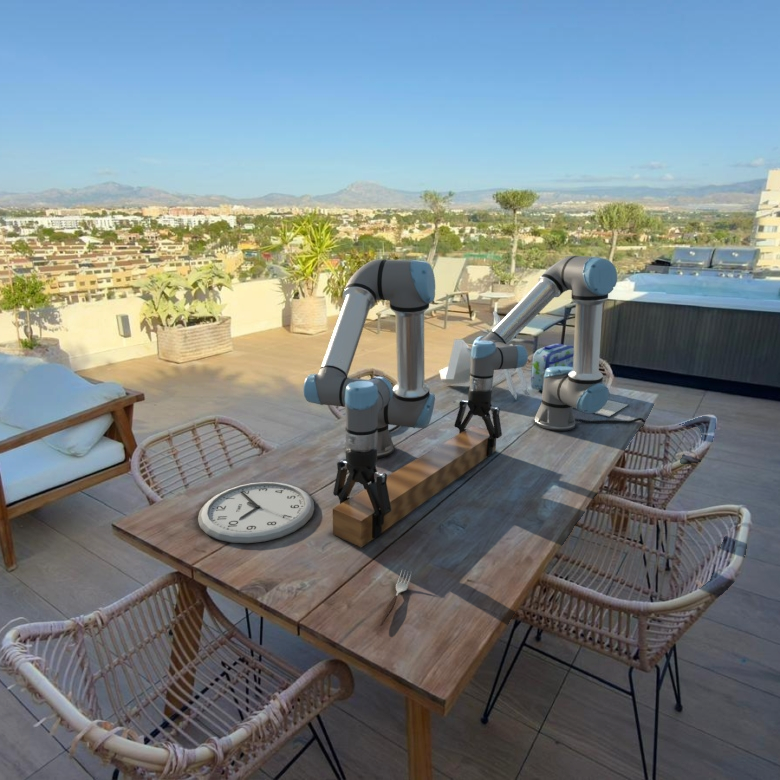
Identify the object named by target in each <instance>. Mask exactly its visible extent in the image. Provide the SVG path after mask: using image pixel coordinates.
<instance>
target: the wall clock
mask: <svg viewBox="0 0 780 780" xmlns="http://www.w3.org/2000/svg"><path fill="white" fill-rule="evenodd" d="M314 512H315V503H314V499H313V498H312V497H311V495H310V493H307V492H306V491H304V490H303V489H301V488H300V487H297V486H295V485H292V484H289V483H283V482H276V481H275V482H274V481H273V482H272V481H261V482H251V483H245V484H241V485H237V486H235V487H234V486H233V487H231V488H229V489H226V490H224V491H222V492H219V493H217V494H215V495H214V496H213V497H211V499H209V500H208V501H206V502H205V503H204V505H202V507H201V509H200V510H199V512H198V518H197V521H198V525H199V528H200V530H202V531H203V532H204V533H205V534H206V535H207V536H210V537H212V538H213V539H215V540H218V541H222V542H227V543H233V544H234V543H235V544H253V543H262V542H269V541H272V540H276V539H280V538H283V537H285V536H287V535H290V534H292V533H294V532H296V531H298V530H299V529H300V528H302V527H304V526H305V525H306V524H307V523H308V522H309V520H310V519H312V517H313V515H314Z"/></svg>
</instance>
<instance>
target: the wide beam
mask: <svg viewBox="0 0 780 780" xmlns="http://www.w3.org/2000/svg"><path fill="white" fill-rule="evenodd" d="M465 429H466V430H465V431H463V432H461V433H460V434H459V433H458V434H455V436H453V437H451V438H450V439H447V440H446V441H445V442H443V443H441V444H439V445H438V446H436V447H434V448H432V449H431V450H429V451H428V452H426V453H424V454H422V455H421V456H419V457H417V458H416V459H414V460H413V461H410V462H409V463H407V464H405V465H404V466H402V467H400V468H399V469H397V470H396V471H394V472H392V473H389V474H387V481H386V484H387V489H388V494H389V500H390V505H391V512H389V513H388V514H386V515H385V516H384V524H383V525H382V533H384V532H386V531H387V530H388V529H389V528H390V527H392V526H394V525H395V524H396V523H397V522H399V521H400V520H401V519H403V518H405V517H406V516H407V515H409V514H411V512H413V511H414V510H416V509H417V508H419V507H420V506H421V505H423V504H424V503H426V502H427V501H429V499H431V498H432V497H434V496H435V495H436V494H438V493H440V492H441V491H442V490H443V489H446V487H447V486H449V485H451V484H452V483H453V482H455V481H456V480H458V479H459V478H460V477H462V476H464V475H465V474H466V473H467V472H468V471H470V470H471V469H473V468H475V466H477V465H479V464H480V463H481V462H482V461H484V460H486V459H487V458H488V457H487V444H488V438H489V437H490V435H489V433H488V430H487V428H484V427H481V426H476V425H471V426H470V427H468V428H465ZM496 450H497V442H496V443H495V447H493V451H492V454H494V453H495V452H496ZM349 498H350V499H348V500H346V501H344V502H343V503H341V504H340V503H339V504H338V505H336V506H334V507H333V508H332V535H333V536H336V537H338V538H340V539H342V540H343V541H347V542H349V543H351V544H353V545H354V546H357V547H359V548H363V547H364V546H366V545H367V544H369V543H370V542H371V541H373V540H375V539H374V538H372V517H373V514H374V513H375V511H374V509H373V506H372V503H371V501H370V498H369V495H368V493H367V490H366V489H363V490H362V491H360V492H358V493H356V494H355V495H353V496H351V497H349ZM379 509H380V508H379Z"/></svg>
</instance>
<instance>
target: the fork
mask: <svg viewBox="0 0 780 780" xmlns="http://www.w3.org/2000/svg"><path fill="white" fill-rule="evenodd" d="M402 573H403V575H402ZM412 573H413V571H410V574H409V572H407V573H406V571H404V572H403V570H400V574H399V577H398V579H397V582H396V584H395V590H396V593H395V595H394V596H393V597H392V599H391V600H390V601H389V603H388V605H387V607H386V609H385V611H384V615H383V617H382V619H381V622H380V624H379V626H380V627H382V626H383V624H384V623H385V621H386V619H388V617H389V615H390V614H391V612H392V611H393V609H394V607H395V605H396V602H397V600H398V596H399V594H401V593H404V592H405V591H407V590H408V588H409V585H410V581H411V578H412ZM405 574H406V576H405ZM408 575H409V577H408ZM407 580H408V581H407Z"/></svg>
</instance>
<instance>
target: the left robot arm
mask: <svg viewBox="0 0 780 780" xmlns="http://www.w3.org/2000/svg"><path fill="white" fill-rule="evenodd" d="M435 278H436V277H435V273H434V268H433V267H432V265H431V263H429V262H427V261H426V260H425V261H424V260H416V259H385V258H379V259H378V258H377V259H374V260H373V259H372V260H371V261H368V262H367V263H365V264H363V265H362V266H360V268H359V269H357V270H356V271H355V272H354V273H353V274H352V276H351V277H350V278H349V279H348V281H347V282H346V284H345V287H344V290H343V292H342V299H343V303H342V306H341V308H340V311H339V315H338V317H337V320H336V323H335V325H334V328H333V332H332V335H331V337H330V340H329V342H328V345H327V348H326V351H325V354H324V356H323V359H322V362H321V365H320V368H319V371H318V373H314V374H313V373H311V374H309V375H307V377H306V378H305V379H304V383H303V388H302V389H303V391H302V392H303V397H304V398H305V401H306V402H308V403H311V404H314V405H315V404H316V405H320V406H334V407H342V408H345V409H344V410H345V412H344V414H345V416H344V417H345V446H346V447H345V458H344V459H342V460H340V461H337V463H336V466H337V467H336V468H337V472H336V476H335V481H334V487H333V496H335V497H338V500H339V504H341V503H343V502H344V501H346V500H348V499H350V498H351V497H350V496H351V492H352V491H353V488H354V486H355V485H356V483H359V484H360V485H362V486H363V490H365V489H366V490H367V493H368V495H369V498H370V501H371V503H372V506H373V509H374V511H375V513H374V514H373V517H372V538H374V539H373V540H375V539H377V538H378V537H380V536H381V535H382V533H383V532H382V525H383V524H384V516H385V515H386V514H388V513H389V512H391V505H390V500H389V494H388V489H387V484H386V481H387V476H388V474H387V473H386V472H383V473H380V472H379V471H378V469H377V467H376V465H377V461H378V459H383V458H386V457H389V456H390V455H392V454H393V452H394V442H393V439H392V436H391V433H392V432H393V431H395V430H397V429H399V428H400V427H404V428H405V427H407V428H412V429H426V428H427V427H428V426H429V424H430V422H431V420H432V416H433V412H434V409H435V402H436V396H435V394H434V393H432V392H430V386H429V385H428V384H427V383H426V381H425V313H426V312H427V311H428V310H429V309H430V304H431V303H433V302H435V301H434V300H435V298H436V279H435ZM377 301H387V302H389V309H390V310H391V311H392V312H393V313H394V317H395V346H396V349H395V351H396V375H397V377H396V379H397V380H396V381H397V383H395V384H394V386H393V385H392V382H391V381H390V380H389V379H387V378H386V377H384V376H373V377H371V378H370V379H364V378H355V377H353V378H352V377H348V376H349V372H350V370H351V366H352V364H353V360H354V357H355V354H356V351H357V349H358V346H359V343H360V340H361V337H362V333H363V330H364V328H365V324H366V321H367V319H368V315H369V312H370V310H372V309H374V307H375V305H376V302H377ZM389 425H390V426H393V427H392V428H390V429H389ZM348 473H349V474H348ZM347 475H348V476H347ZM379 508H380V509H379Z"/></svg>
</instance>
